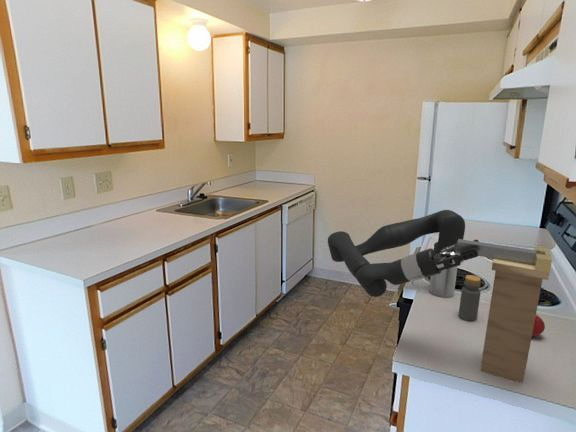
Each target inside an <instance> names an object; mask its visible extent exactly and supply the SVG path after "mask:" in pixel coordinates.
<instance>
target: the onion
mask: <svg viewBox="0 0 576 432" xmlns="http://www.w3.org/2000/svg"><path fill="white" fill-rule="evenodd" d="M545 324H546V323H545V322H544V320H543V319H542V317H540V316H539V315H538V314H537V313H536V317H535V322H534V327H533V333H532V337H535V336H540V335H541V334H543V332H544V331H545V329H546V325H545Z"/></svg>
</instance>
